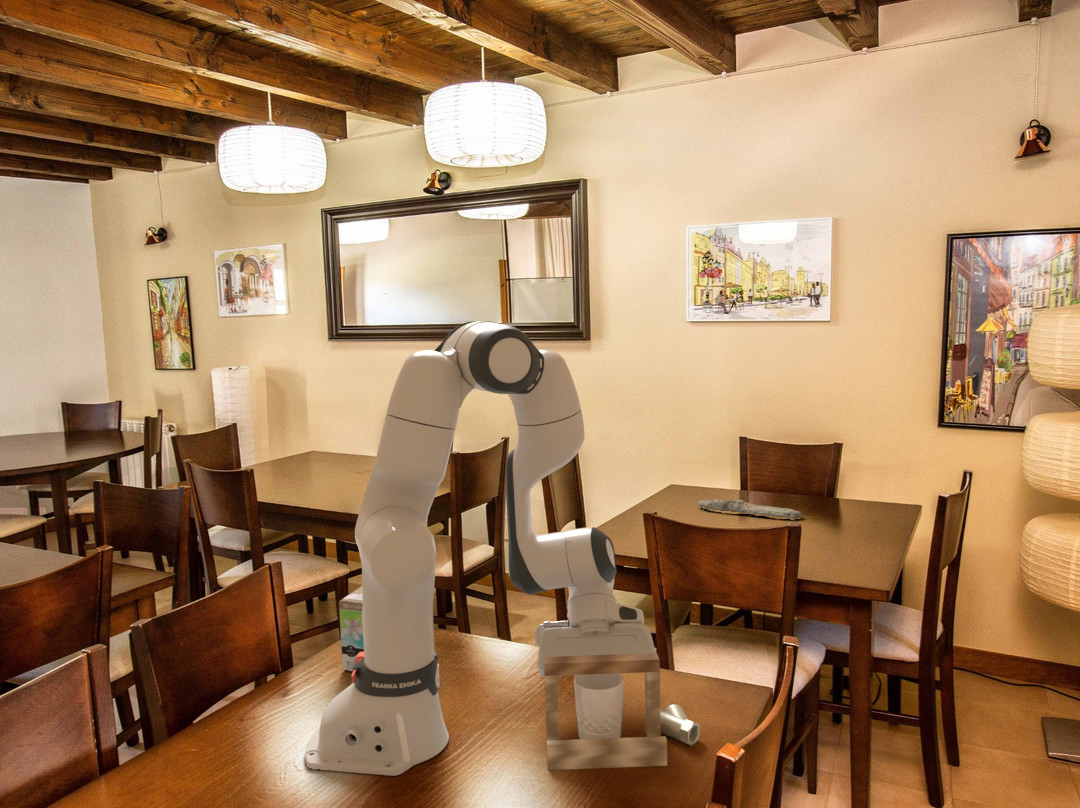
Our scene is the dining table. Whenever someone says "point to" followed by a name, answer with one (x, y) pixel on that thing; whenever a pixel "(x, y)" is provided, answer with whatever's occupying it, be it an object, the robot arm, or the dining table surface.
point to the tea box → (351, 627)
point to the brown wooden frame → (607, 749)
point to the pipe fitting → (678, 725)
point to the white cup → (599, 705)
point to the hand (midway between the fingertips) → (599, 699)
